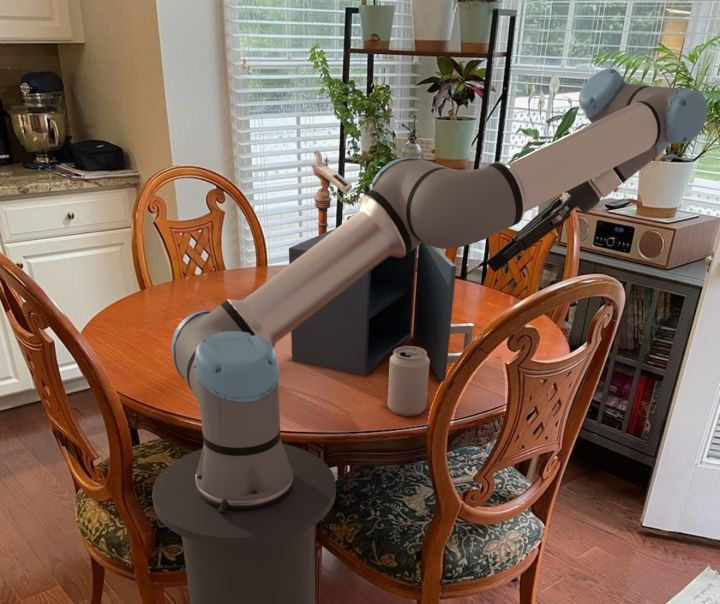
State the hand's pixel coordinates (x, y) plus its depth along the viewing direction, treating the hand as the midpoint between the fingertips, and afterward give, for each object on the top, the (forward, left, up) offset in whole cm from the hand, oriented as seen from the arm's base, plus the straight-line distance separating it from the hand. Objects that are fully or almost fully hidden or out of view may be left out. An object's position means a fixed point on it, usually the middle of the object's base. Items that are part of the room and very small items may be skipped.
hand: (490, 266), depth 145 cm
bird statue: (+47, +61, -22) cm, 80 cm away
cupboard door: (+1, +9, -22) cm, 24 cm away
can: (-27, +6, -22) cm, 36 cm away
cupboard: (-3, +29, -22) cm, 37 cm away
